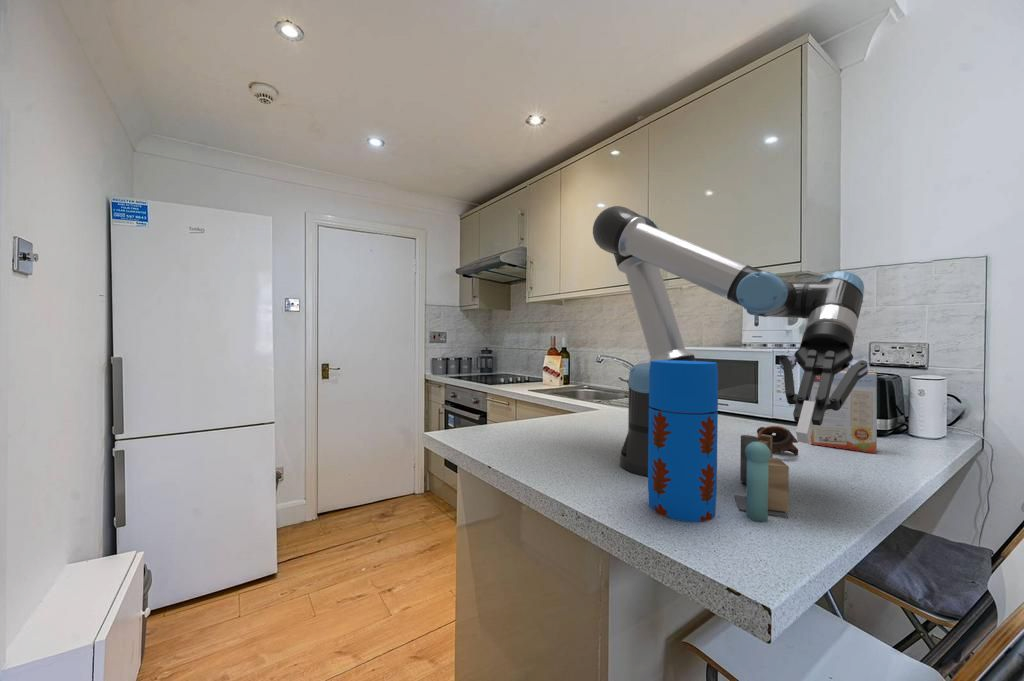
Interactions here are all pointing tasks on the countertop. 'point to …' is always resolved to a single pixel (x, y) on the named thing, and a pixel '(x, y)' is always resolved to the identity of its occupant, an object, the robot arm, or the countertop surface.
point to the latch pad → (742, 506)
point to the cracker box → (849, 417)
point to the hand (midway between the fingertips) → (802, 437)
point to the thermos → (683, 439)
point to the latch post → (757, 481)
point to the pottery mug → (779, 439)
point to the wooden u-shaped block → (769, 477)
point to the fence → (767, 441)
